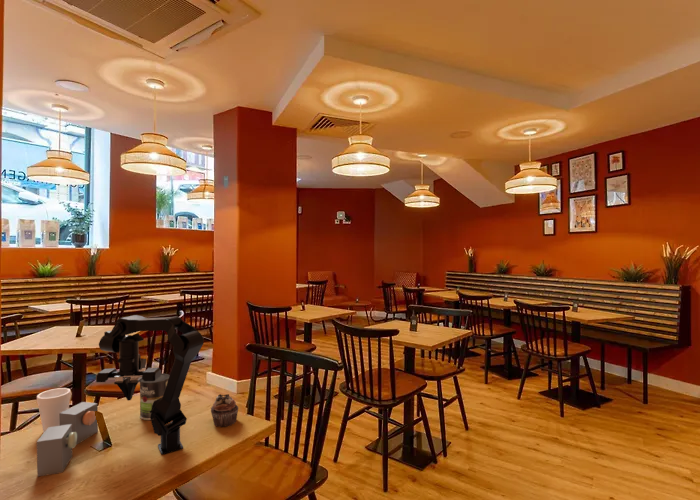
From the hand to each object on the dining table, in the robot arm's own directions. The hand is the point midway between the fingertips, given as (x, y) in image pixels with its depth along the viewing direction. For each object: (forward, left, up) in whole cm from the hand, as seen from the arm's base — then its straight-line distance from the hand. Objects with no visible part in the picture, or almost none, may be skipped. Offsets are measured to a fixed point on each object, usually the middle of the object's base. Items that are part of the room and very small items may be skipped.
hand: (129, 400), depth 134 cm
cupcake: (-6, -30, -13) cm, 33 cm away
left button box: (-6, +20, -13) cm, 25 cm away
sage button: (-7, +18, -8) cm, 21 cm away
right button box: (+10, +14, -13) cm, 22 cm away
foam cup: (+21, +21, -13) cm, 32 cm away
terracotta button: (+9, +13, -8) cm, 18 cm away
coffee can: (+15, -10, -13) cm, 22 cm away
